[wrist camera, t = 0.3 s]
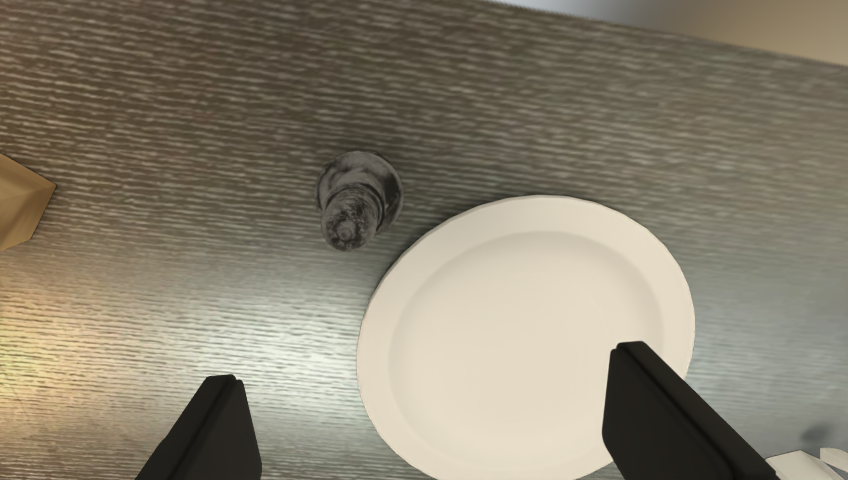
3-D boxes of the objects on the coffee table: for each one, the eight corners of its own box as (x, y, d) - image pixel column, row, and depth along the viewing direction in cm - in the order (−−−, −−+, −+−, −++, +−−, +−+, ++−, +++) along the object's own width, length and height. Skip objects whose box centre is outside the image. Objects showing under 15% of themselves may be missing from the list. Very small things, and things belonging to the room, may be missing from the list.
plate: (727, 366, 39) (747, 382, 36) (479, 515, 43) (484, 537, 40) (577, 113, 30) (591, 114, 28) (288, 328, 34) (280, 343, 32)
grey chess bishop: (306, 186, 31) (254, 238, 19) (360, 127, 30) (338, 146, 18) (366, 238, 32) (350, 315, 21) (419, 184, 31) (433, 234, 20)
